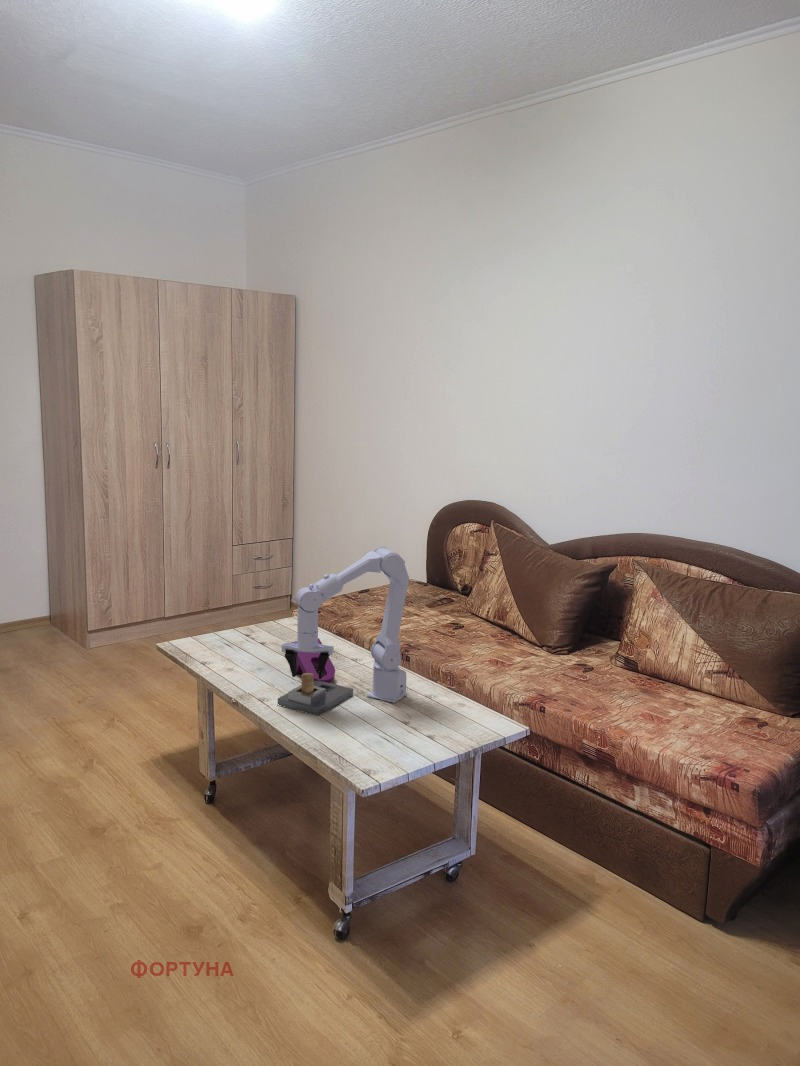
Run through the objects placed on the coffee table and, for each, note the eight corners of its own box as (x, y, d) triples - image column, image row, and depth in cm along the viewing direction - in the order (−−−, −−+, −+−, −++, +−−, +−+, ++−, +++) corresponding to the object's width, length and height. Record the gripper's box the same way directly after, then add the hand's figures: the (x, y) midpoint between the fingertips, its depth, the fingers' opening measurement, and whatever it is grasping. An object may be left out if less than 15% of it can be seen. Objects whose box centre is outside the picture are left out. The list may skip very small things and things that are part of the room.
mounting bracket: (334, 697, 250) (314, 657, 262) (339, 677, 245) (319, 638, 258) (306, 702, 245) (287, 661, 258) (311, 682, 241) (291, 641, 253)
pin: (314, 703, 230) (315, 673, 228) (311, 707, 227) (311, 677, 225) (303, 702, 231) (303, 672, 229) (299, 706, 227) (299, 676, 226)
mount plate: (353, 695, 237) (353, 680, 236) (318, 715, 221) (318, 700, 221) (313, 685, 244) (314, 671, 243) (277, 705, 228) (277, 690, 227)
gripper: (336, 628, 228) (335, 673, 230) (286, 624, 229) (286, 670, 232) (330, 635, 221) (330, 682, 223) (279, 632, 223) (279, 678, 225)
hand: (307, 676), depth 227 cm, fingers open, 7 cm apart
